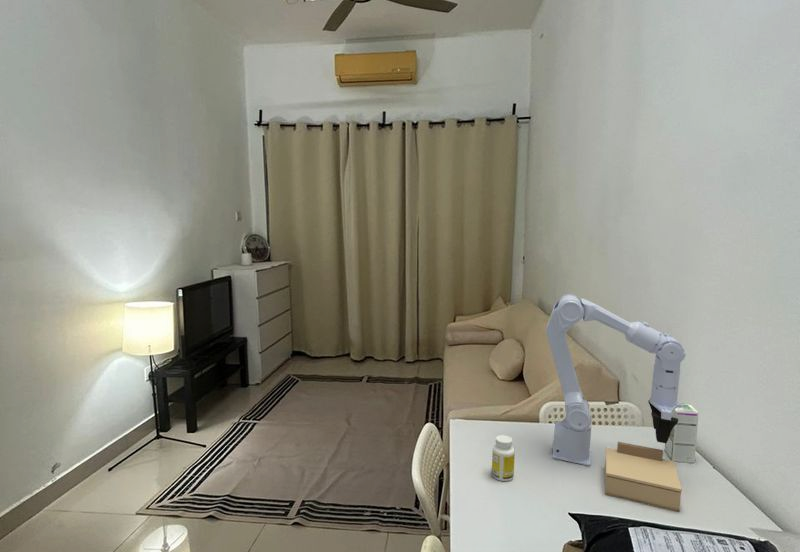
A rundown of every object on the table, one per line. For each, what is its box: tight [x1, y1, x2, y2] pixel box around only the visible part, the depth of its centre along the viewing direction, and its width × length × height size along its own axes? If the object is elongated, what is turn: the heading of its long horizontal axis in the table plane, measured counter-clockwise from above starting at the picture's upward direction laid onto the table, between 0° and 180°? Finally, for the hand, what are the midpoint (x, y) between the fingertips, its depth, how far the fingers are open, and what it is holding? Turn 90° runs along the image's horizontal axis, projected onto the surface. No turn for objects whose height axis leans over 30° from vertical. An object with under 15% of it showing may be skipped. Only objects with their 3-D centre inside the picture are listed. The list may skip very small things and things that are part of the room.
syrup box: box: [664, 402, 700, 464], centre depth 123 cm, size 6×6×14 cm
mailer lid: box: [605, 441, 683, 493], centre depth 108 cm, size 15×13×3 cm
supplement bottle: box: [491, 434, 516, 482], centre depth 113 cm, size 5×5×10 cm
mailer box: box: [604, 459, 682, 513], centre depth 109 cm, size 15×13×4 cm
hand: (659, 435), depth 116 cm, fingers open, 7 cm apart
